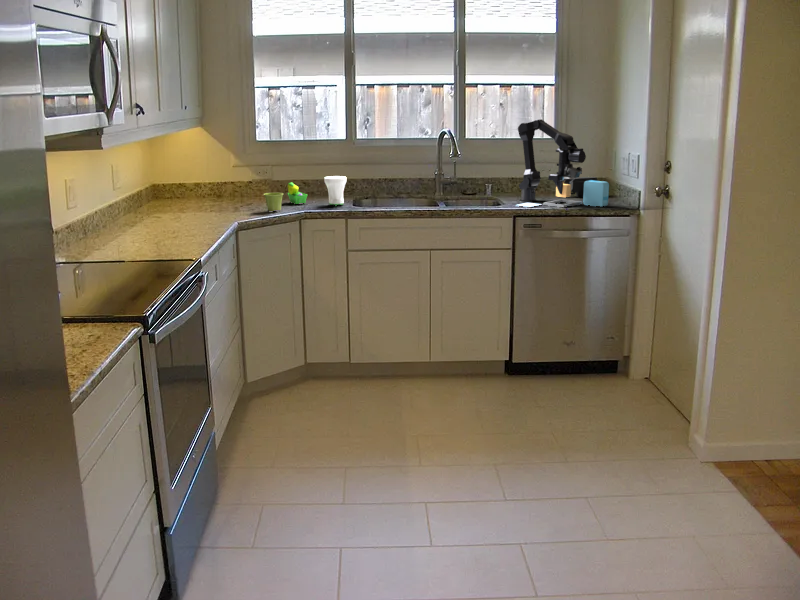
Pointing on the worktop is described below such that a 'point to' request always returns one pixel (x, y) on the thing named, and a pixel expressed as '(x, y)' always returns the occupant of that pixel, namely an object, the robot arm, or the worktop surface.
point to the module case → (571, 202)
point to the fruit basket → (296, 194)
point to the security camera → (580, 185)
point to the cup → (335, 189)
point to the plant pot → (273, 201)
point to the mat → (528, 204)
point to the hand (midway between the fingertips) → (563, 193)
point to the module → (564, 191)
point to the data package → (596, 193)
